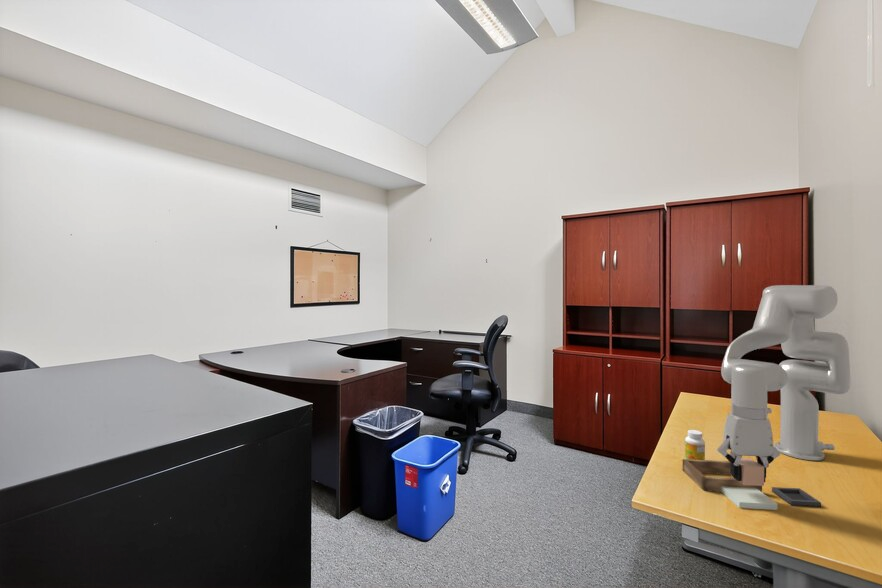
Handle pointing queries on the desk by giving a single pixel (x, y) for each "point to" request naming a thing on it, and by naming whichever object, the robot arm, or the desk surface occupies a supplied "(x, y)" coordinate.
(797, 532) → the desk surface
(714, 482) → the wooden tray frame
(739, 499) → the sage tile
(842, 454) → the desk surface
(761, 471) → the terracotta cube
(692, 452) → the supplement bottle
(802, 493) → the dark gray rectangular tray
